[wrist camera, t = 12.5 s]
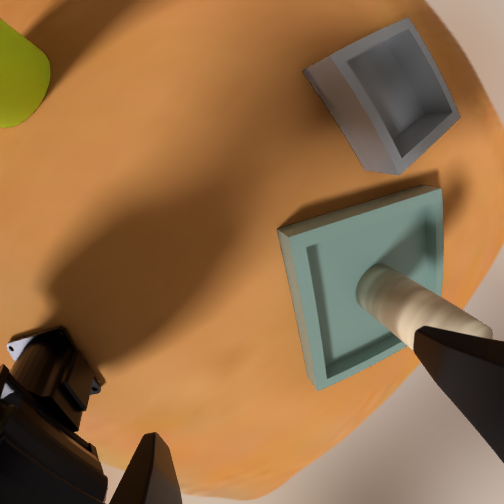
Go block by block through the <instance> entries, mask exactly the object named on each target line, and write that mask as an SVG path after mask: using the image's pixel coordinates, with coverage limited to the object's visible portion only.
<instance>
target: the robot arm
mask: <svg viewBox="0 0 504 504" xmlns="http://www.w3.org/2000/svg"><path fill="white" fill-rule="evenodd" d="M59 332H62V333H63V335H62V334H60V333H59ZM11 346H12V347H13V348H14V349H13V348H12V347H11ZM7 350H8V351H9V353H10V354H11V356H12V358H13V359H14V361H15V363H14V365H13V367H12V369H11V370H10V372H9V369H8V368H7V367H6V366H5V365H4V364H3V365H1V366H0V504H105V499H106V494H107V490H108V478H107V476H105V475H104V474H103V470H102V466H101V463H100V461H99V459H98V455H97V451H96V447H95V446H93V445H92V444H91V443H87V442H86V441H85V440H83V439H82V438H81V437H79V436H78V435H77V434H76V433H74V432H77V431H78V430H79V426H80V421H81V416H82V412H83V411H86V409H87V405H88V400H89V396H90V395H92V394H97V393H100V391H101V385H100V384H99V382H98V381H97V379H96V378H95V376H94V372H93V371H92V369H91V368H90V366H89V365H88V363H87V362H86V360H85V358H84V357H83V355H82V353H81V352H80V350H78V349H77V347H76V346H75V344H74V342H73V340H72V339H71V337H70V335H69V333H68V332H67V330H66V329H65V328H64V327H63V326H57V327H54V328H51V329H47V330H44V331H41V332H38V333H34V334H31V335H28V336H25V337H21V338H18V339H15V340H11V341H9V342H8V344H7ZM413 350H414V353H415V354H416V356H417V357H418V359H419V360H420V361H421V363H422V364H423V366H424V367H425V368H426V370H427V371H428V373H429V374H430V375H431V377H432V378H433V380H434V381H435V382H436V383H437V385H438V386H439V387H440V388H441V389H442V390H443V392H444V393H445V394H446V395H447V396H448V397H449V398H450V399H451V401H452V402H453V403H454V404H455V405H456V406H457V407H458V409H459V410H460V411H461V412H462V413H463V414H464V416H465V417H466V418H467V419H468V420H469V421H470V422H471V424H472V425H473V426H474V427H475V429H476V430H477V431H478V432H479V433H480V435H481V436H482V437H483V438H484V439H485V440H486V442H487V443H488V444H489V445H490V446H491V448H492V449H493V450H494V451H495V453H496V454H497V455H498V457H499V458H500V459H501V460H502V462H503V463H504V341H498V340H493V339H488V338H483V337H478V336H473V335H468V334H464V333H459V332H454V331H449V330H444V329H440V328H435V327H431V326H422V327H420V328H419V329H417V330H416V331H415V333H414V344H413ZM94 387H96V388H94ZM109 504H182V498H181V492H180V488H179V484H178V480H177V477H176V473H175V469H174V465H173V461H172V457H171V453H170V450H169V447H168V446H167V444H166V443H165V442H164V441H163V439H162V438H161V437H160V436H159V434H158V433H156V432H153V433H148V434H145V435H144V436H143V437H142V439H141V441H140V443H139V445H138V447H137V449H136V451H135V453H134V455H133V457H132V459H131V461H130V463H129V465H128V467H127V469H126V471H125V473H124V475H123V477H122V479H121V481H120V483H119V485H118V487H117V489H116V491H115V493H114V495H113V497H112V499H111V501H110V503H109Z"/></svg>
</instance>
